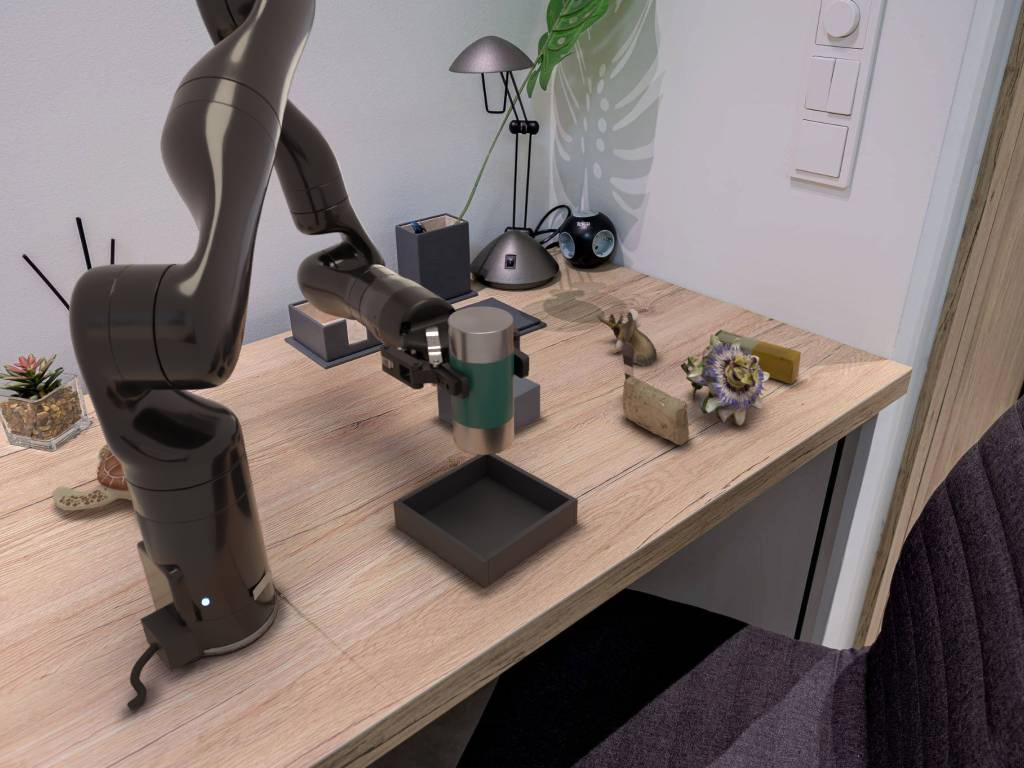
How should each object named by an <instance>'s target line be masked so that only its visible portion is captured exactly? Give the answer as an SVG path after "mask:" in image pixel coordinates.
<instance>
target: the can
mask: <svg viewBox="0 0 1024 768" xmlns="http://www.w3.org/2000/svg"><path fill="white" fill-rule="evenodd" d="M513 327H514V317H513V315H512V314H511V313H510V312H509V311H507V310H504V309H502V308H498V307H493V306H470V307H465V308H462V309H458V310H456V312H455V313H453V314H452V315H451V316H450V317H449V319H448V333H449V364H450V365H451V366H453V367H454V368H455V369H457V370H458V371H460V372H461V373H463V374H464V375H465V376H466V377H467V378H468V381H469V397H467V398H464V399H460V398H458V397H457V396H452V395H451V404H452V416H453V425H452V432H453V442H454V444H455V446H456V448H458V449H459V450H460V451H463V452H465V453H468V454H471V455H475V456H477V455H490V454H499V453H502V452H504V451H505V450H507V449H509V448H510V447H511V446H512V445H513V443H514V440H515V431H514V346H513Z"/></svg>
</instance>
